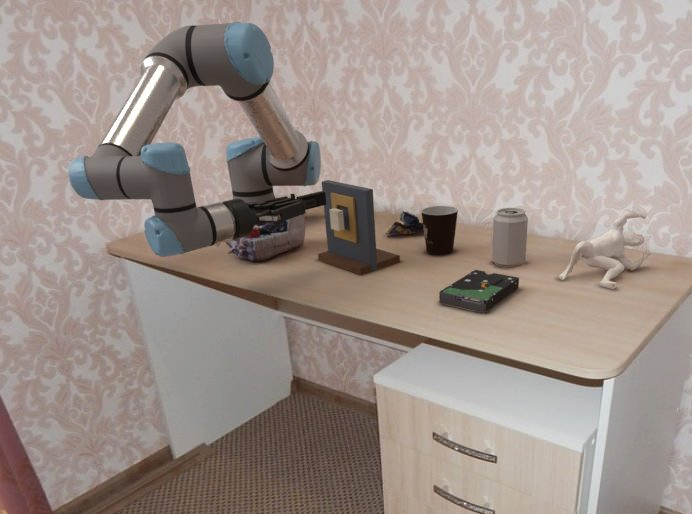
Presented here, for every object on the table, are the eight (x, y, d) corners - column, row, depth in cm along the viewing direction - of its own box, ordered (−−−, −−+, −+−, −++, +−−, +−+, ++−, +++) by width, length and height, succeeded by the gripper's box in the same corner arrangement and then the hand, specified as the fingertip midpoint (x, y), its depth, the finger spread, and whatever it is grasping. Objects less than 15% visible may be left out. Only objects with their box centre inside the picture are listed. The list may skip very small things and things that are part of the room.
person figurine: (608, 239, 119) (646, 202, 129) (549, 242, 127) (588, 208, 138) (619, 300, 124) (654, 260, 134) (562, 299, 133) (599, 262, 143)
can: (526, 258, 144) (529, 206, 138) (523, 269, 138) (527, 215, 132) (494, 257, 146) (495, 205, 140) (489, 267, 140) (491, 214, 134)
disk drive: (473, 281, 133) (438, 304, 122) (474, 269, 131) (438, 290, 121) (519, 290, 127) (486, 314, 117) (520, 276, 126) (486, 300, 116)
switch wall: (360, 275, 139) (354, 193, 131) (318, 260, 150) (310, 183, 141) (400, 261, 146) (397, 183, 137) (357, 248, 157) (351, 174, 148)
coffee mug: (455, 257, 147) (455, 215, 142) (419, 256, 149) (418, 215, 144) (460, 242, 157) (460, 202, 152) (426, 242, 159) (426, 202, 154)
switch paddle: (339, 231, 139) (337, 211, 137) (331, 228, 142) (329, 209, 139) (344, 229, 140) (342, 210, 138) (335, 227, 142) (334, 208, 140)
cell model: (309, 204, 154) (244, 224, 142) (314, 246, 160) (252, 269, 147) (275, 197, 162) (210, 216, 149) (281, 237, 167) (219, 259, 155)
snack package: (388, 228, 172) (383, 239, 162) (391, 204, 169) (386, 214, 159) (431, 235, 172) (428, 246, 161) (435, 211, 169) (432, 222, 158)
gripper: (214, 233, 128) (308, 210, 142) (247, 246, 120) (343, 220, 133) (207, 197, 125) (304, 176, 138) (240, 207, 116) (340, 184, 129)
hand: (323, 197), depth 135 cm, fingers closed
